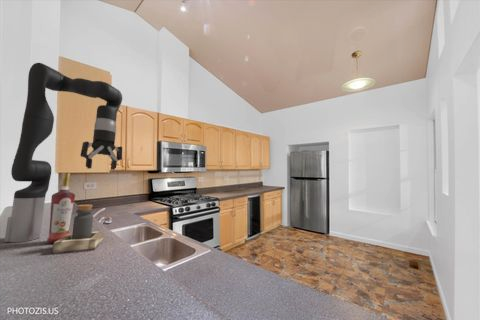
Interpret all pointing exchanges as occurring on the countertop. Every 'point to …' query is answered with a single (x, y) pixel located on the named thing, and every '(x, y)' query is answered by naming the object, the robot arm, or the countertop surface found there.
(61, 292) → the countertop surface
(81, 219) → the bottle
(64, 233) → the liquor
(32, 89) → the robot arm
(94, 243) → the wooden tray
